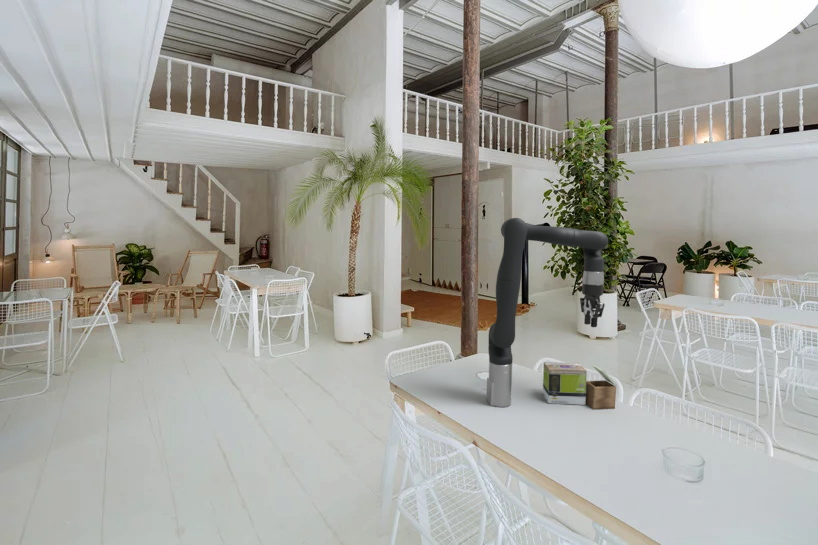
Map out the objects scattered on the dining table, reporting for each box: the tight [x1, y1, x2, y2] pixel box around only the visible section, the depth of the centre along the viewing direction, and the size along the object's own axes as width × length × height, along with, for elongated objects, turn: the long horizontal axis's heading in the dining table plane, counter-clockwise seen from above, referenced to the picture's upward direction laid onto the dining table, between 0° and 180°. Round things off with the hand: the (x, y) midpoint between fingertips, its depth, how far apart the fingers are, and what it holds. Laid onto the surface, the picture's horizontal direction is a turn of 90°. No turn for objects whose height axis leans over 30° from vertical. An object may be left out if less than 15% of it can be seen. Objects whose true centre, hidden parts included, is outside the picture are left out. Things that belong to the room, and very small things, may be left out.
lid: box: [591, 364, 617, 387], centre depth 164 cm, size 9×7×1 cm
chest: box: [585, 379, 617, 410], centre depth 165 cm, size 9×7×9 cm
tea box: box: [542, 361, 587, 406], centre depth 170 cm, size 15×10×15 cm, turn 84°
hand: (590, 325), depth 161 cm, fingers open, 4 cm apart
